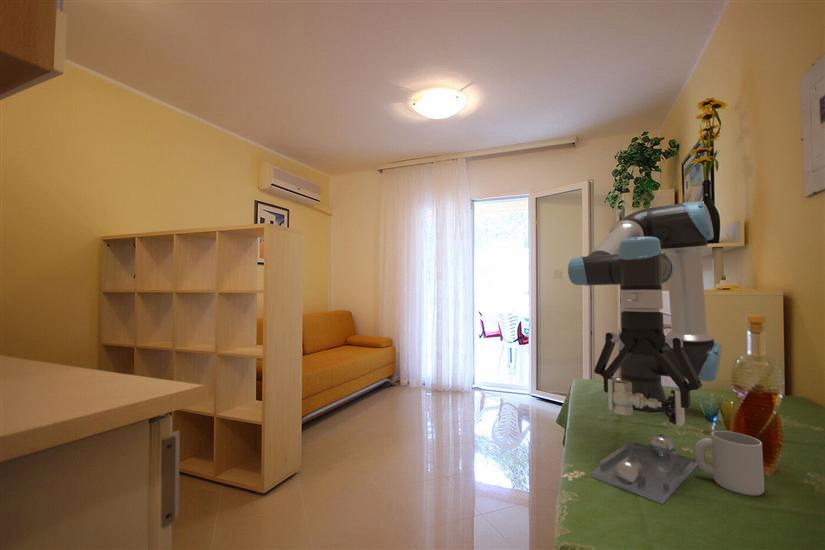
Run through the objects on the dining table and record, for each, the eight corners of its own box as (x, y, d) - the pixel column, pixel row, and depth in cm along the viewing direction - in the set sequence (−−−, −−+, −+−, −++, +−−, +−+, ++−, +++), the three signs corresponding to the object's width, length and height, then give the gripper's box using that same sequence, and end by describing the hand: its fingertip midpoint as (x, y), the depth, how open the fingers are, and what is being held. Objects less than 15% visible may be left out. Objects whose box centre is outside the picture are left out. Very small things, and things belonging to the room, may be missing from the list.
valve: (606, 413, 77) (674, 429, 68) (605, 382, 77) (673, 393, 68) (618, 407, 81) (683, 421, 72) (617, 378, 82) (681, 388, 73)
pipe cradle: (635, 446, 86) (634, 427, 86) (697, 465, 76) (696, 442, 77) (591, 477, 71) (590, 453, 71) (662, 504, 62) (661, 476, 62)
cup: (769, 501, 63) (766, 449, 64) (696, 484, 69) (695, 436, 69) (759, 483, 69) (757, 436, 70) (693, 469, 75) (692, 425, 75)
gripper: (576, 309, 83) (578, 405, 81) (709, 312, 64) (714, 437, 63) (591, 308, 87) (593, 399, 86) (718, 312, 69) (723, 428, 68)
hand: (644, 415), depth 74 cm, fingers closed on valve, 12 cm apart
